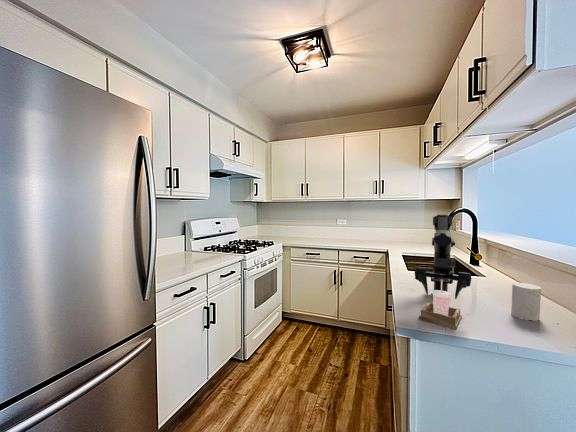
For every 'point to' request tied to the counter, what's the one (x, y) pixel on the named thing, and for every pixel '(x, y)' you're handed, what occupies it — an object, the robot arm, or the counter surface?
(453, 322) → the tray
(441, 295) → the beverage cup
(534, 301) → the grey upright cylinder
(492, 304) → the counter surface
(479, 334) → the counter surface
